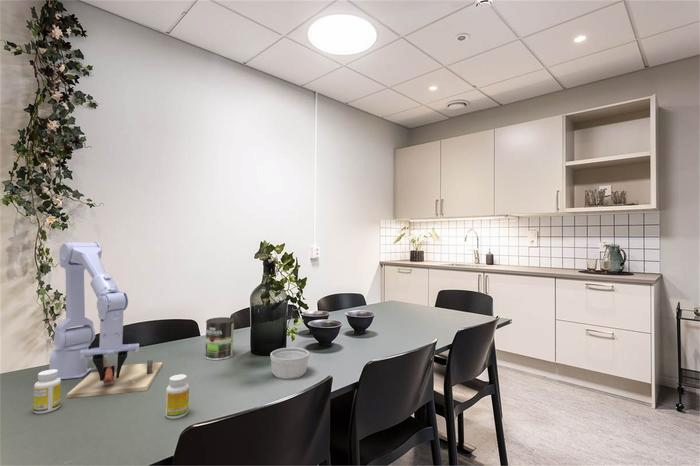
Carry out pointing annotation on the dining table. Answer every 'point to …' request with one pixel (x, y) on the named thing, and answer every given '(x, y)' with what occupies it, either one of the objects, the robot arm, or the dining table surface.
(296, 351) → the ramekin
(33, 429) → the dining table surface
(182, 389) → the supplement bottle
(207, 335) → the coffee can
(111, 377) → the lever
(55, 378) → the supplement bottle
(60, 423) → the dining table surface
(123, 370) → the board
